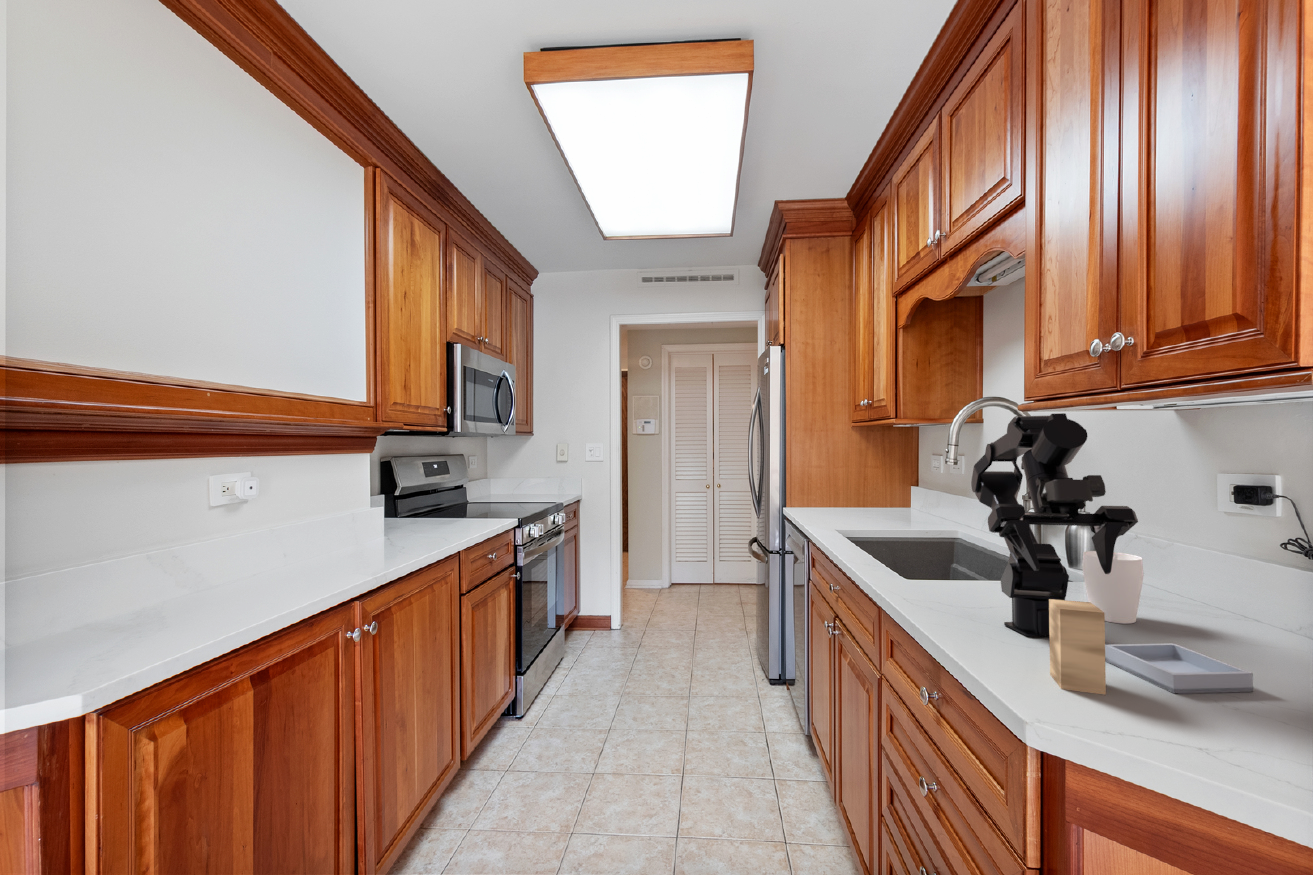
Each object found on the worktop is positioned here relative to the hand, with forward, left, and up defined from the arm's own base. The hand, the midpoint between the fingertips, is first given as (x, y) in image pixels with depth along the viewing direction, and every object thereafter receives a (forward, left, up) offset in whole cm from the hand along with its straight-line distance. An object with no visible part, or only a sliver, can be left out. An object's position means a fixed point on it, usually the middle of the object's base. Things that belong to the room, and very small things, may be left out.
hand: (1072, 571), depth 83 cm
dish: (+4, +12, -14) cm, 19 cm away
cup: (-21, +25, -15) cm, 36 cm away
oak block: (+6, -4, -14) cm, 16 cm away
